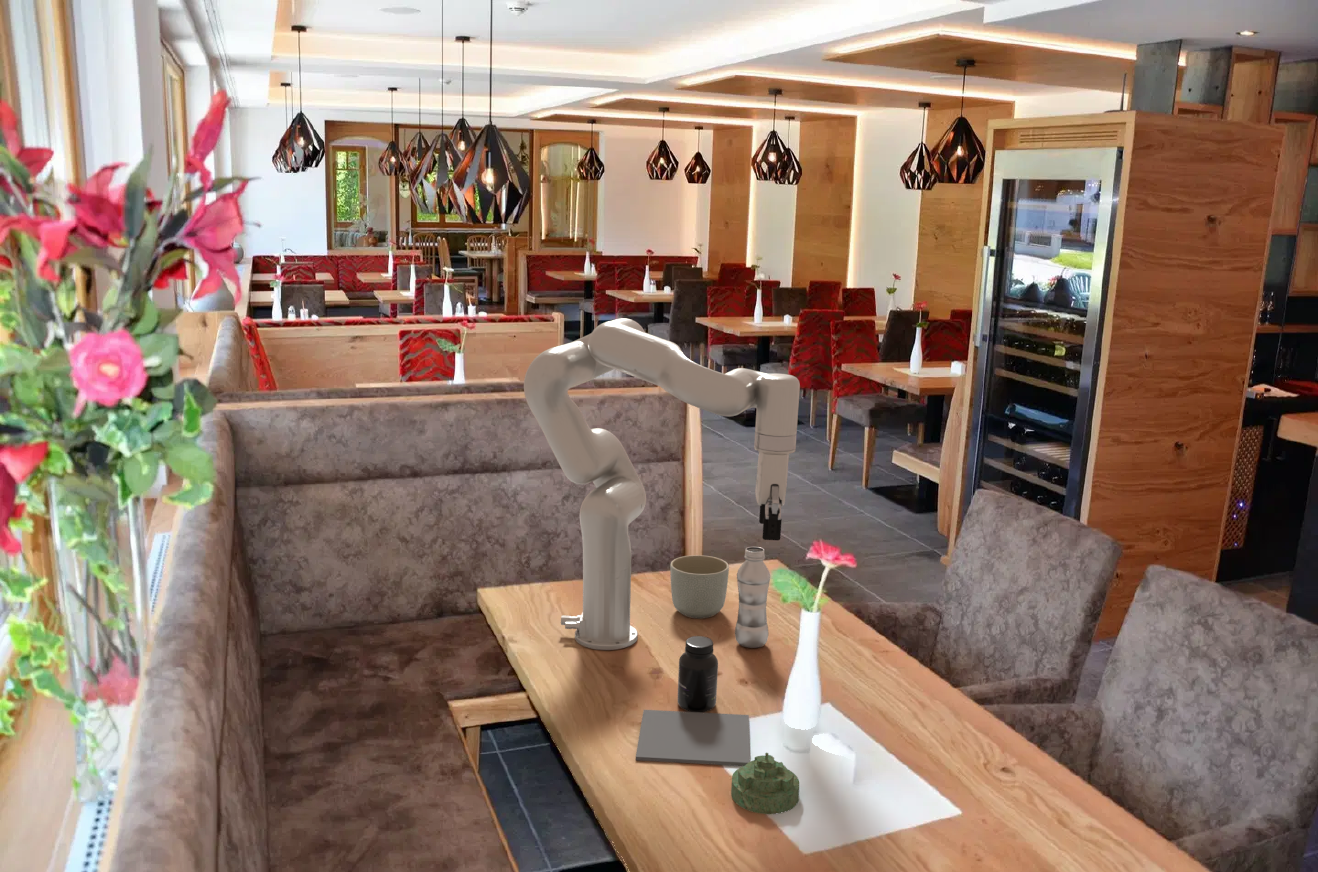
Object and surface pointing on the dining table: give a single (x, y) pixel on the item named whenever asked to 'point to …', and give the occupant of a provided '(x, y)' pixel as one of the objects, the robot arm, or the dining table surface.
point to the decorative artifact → (765, 786)
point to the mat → (694, 738)
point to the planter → (699, 585)
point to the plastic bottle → (752, 599)
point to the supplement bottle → (697, 675)
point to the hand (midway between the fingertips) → (769, 531)
